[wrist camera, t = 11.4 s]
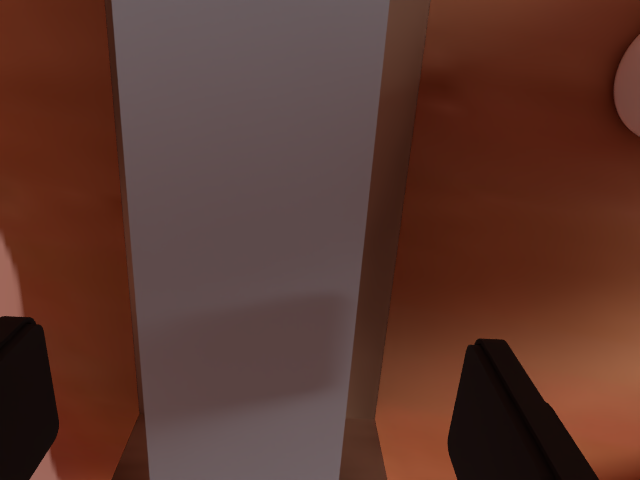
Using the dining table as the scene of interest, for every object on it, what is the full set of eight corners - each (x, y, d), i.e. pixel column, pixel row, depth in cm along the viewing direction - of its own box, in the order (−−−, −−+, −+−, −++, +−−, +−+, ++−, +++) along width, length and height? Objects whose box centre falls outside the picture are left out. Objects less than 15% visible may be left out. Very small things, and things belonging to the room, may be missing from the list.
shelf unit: (432, -76, 19) (744, -351, 6) (369, 421, 27) (434, 763, 14) (107, -104, 18) (-396, -499, 5) (147, 416, 27) (4, 774, 14)
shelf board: (325, 507, 20) (329, 568, 17) (173, 505, 19) (156, 568, 17) (380, -70, 13) (400, -96, 10) (139, -91, 12) (101, -123, 10)
